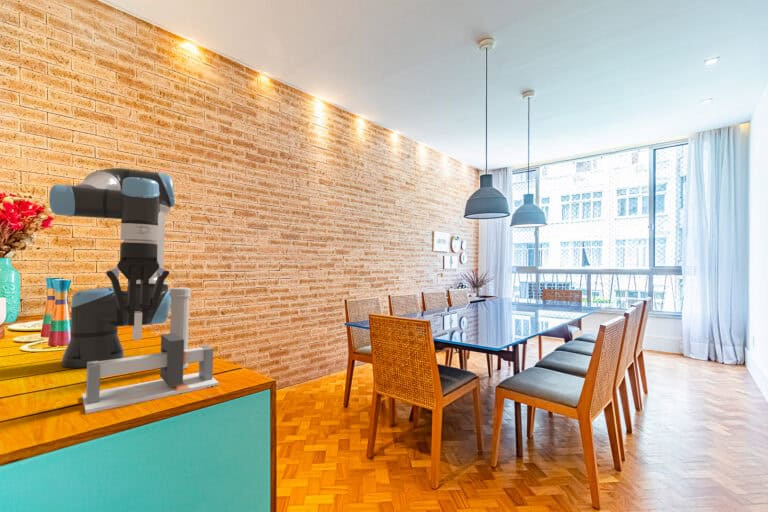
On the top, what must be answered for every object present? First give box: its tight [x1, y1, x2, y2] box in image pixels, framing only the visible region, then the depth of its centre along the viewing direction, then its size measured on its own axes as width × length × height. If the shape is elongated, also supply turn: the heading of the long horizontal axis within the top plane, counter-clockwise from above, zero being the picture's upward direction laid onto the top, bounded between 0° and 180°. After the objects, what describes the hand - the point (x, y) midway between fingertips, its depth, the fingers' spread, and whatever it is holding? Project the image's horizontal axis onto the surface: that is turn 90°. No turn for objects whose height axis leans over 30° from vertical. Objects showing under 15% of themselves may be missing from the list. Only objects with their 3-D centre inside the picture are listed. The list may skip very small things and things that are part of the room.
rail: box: [81, 345, 220, 415], centre depth 89 cm, size 12×27×9 cm, turn 133°
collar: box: [159, 333, 184, 386], centre depth 92 cm, size 10×3×11 cm, turn 43°
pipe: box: [169, 268, 191, 370], centre depth 108 cm, size 6×6×30 cm
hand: (136, 338), depth 87 cm, fingers closed
